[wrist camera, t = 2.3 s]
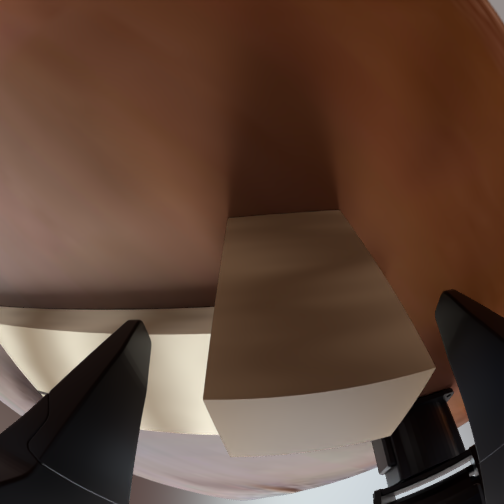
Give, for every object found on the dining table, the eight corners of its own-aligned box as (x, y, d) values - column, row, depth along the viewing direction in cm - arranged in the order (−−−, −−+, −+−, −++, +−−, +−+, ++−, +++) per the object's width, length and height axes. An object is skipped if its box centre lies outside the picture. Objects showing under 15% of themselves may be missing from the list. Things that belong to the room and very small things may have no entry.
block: (339, 209, 10) (435, 367, 4) (319, 394, 16) (335, 496, 10) (227, 218, 10) (202, 399, 4) (255, 400, 16) (256, 504, 10)
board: (375, 291, 12) (388, 316, 11) (344, 404, 17) (349, 424, 16) (-3, 306, 13) (-15, 322, 11) (64, 397, 18) (58, 413, 16)
